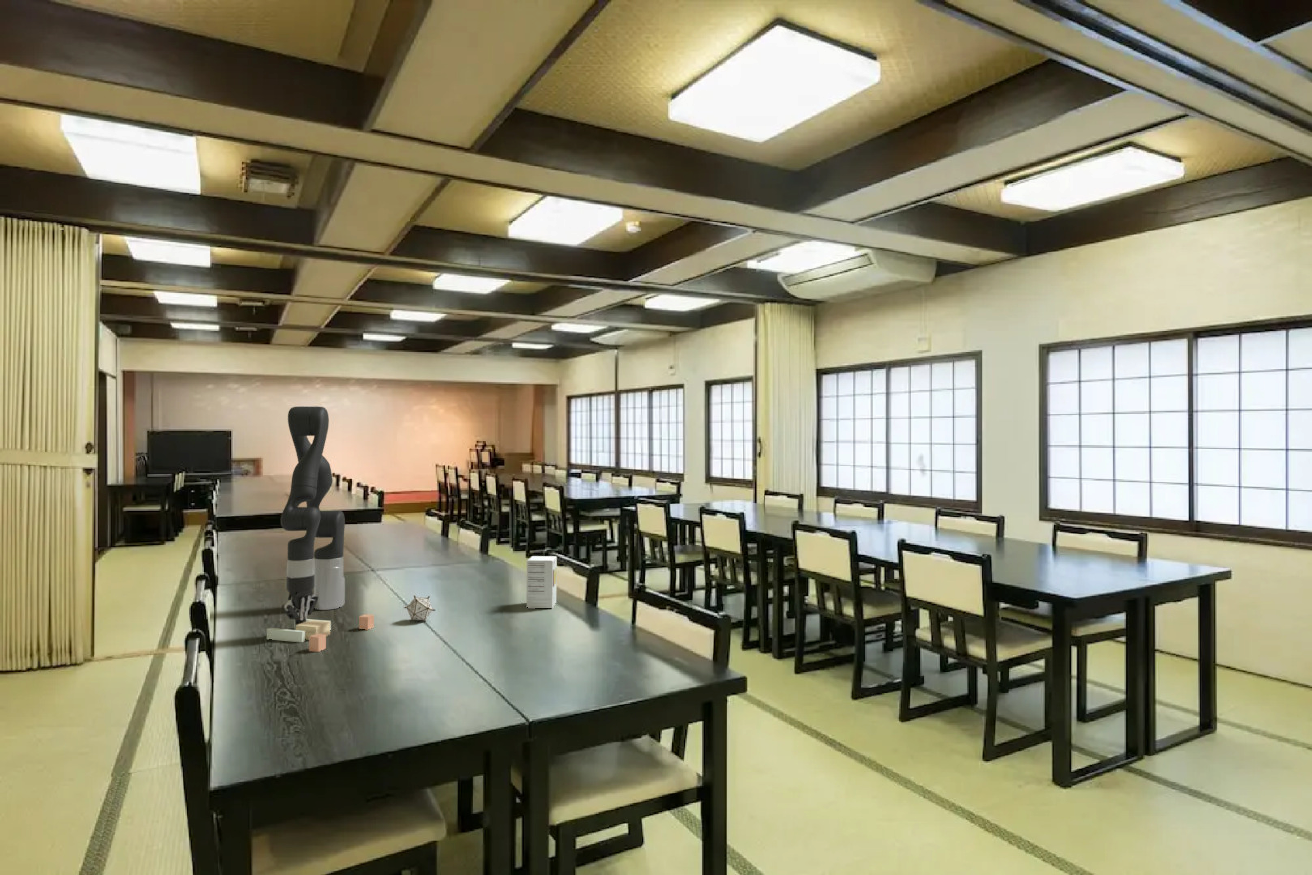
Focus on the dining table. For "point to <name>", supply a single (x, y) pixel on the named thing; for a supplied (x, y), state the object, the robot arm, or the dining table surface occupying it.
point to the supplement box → (541, 581)
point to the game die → (419, 608)
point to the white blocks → (288, 634)
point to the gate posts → (319, 640)
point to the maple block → (314, 628)
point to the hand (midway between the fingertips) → (300, 631)
